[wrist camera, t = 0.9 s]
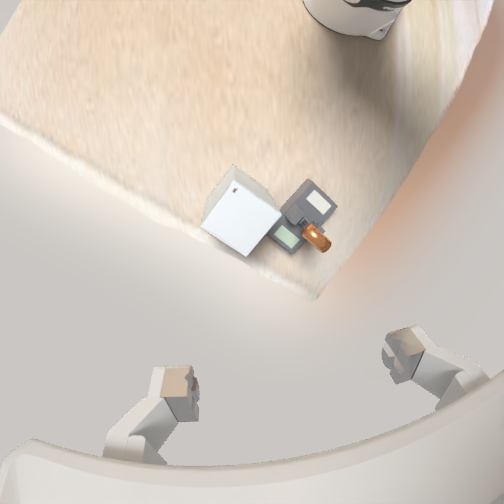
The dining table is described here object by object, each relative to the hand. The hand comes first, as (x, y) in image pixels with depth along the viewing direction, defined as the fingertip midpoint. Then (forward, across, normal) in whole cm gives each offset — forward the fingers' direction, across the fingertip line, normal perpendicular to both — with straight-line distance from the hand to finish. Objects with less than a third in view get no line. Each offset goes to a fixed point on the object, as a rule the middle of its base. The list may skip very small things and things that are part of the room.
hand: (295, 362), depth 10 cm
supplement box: (+37, +1, +2) cm, 37 cm away
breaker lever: (+32, -9, +6) cm, 34 cm away
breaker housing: (+36, -9, +6) cm, 38 cm away
